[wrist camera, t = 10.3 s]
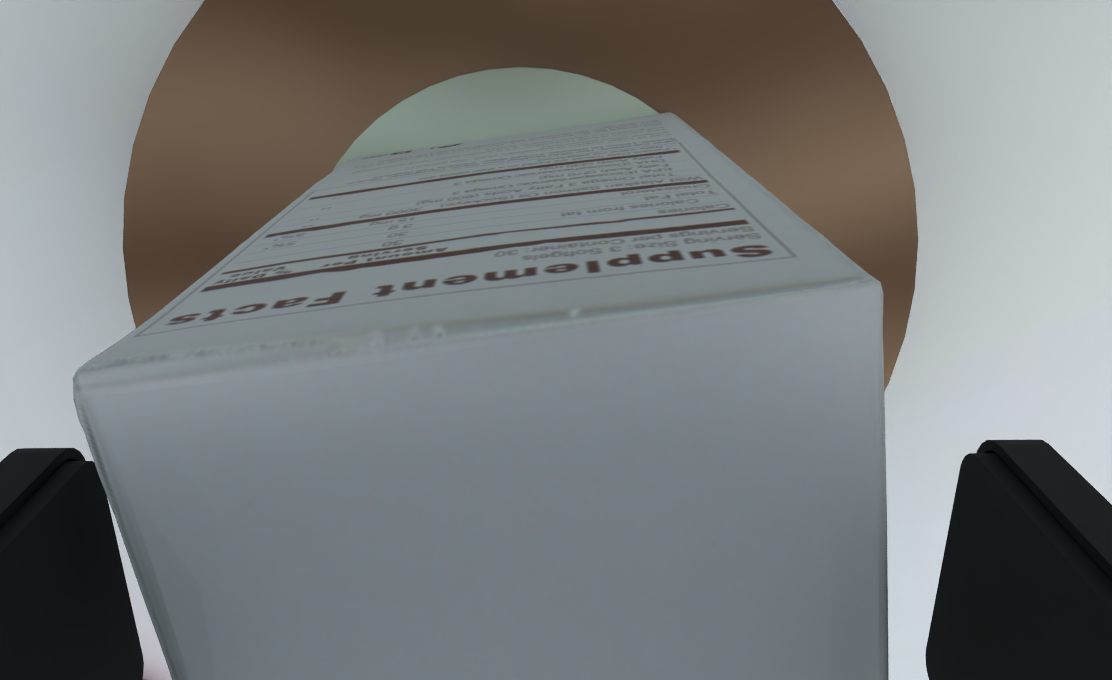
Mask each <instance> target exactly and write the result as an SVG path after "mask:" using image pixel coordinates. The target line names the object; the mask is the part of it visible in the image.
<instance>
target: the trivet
mask: <svg viewBox="0 0 1112 680" xmlns="http://www.w3.org/2000/svg"><path fill="white" fill-rule="evenodd" d="M662 113H673V114H675V115H677V116H678V117H679V118H680V119H681V120H683V121H684V122H685V123H687V124H688V125H689V126H690V127H692V128H693V129H694V130H695V131H696V132H698V133H699V134H700V135H701V136H702V137H703V138H705V139H706V140H708V141H709V142H710V143H711V144H712V145H713V146H714V147H715V148H716V149H717V150H719V151H720V152H722V153H723V154H724V155H726V156H727V157H728V158H729V159H730V160H732V161H733V162H734V163H735V164H737V165H738V166H739V167H740V168H741V169H742V170H744V171H745V172H746V173H747V174H748V175H750V176H751V177H752V178H754V179H755V180H756V181H758V182H759V183H760V184H761V185H762V186H763V187H764V188H766V189H767V190H768V191H769V192H771V193H772V194H773V195H774V196H776V197H777V198H778V199H779V200H780V201H781V202H783V203H784V204H785V205H786V206H787V207H788V208H790V209H791V210H792V211H793V212H794V213H795V214H796V215H798V216H799V217H800V218H801V219H803V220H804V221H805V222H806V223H808V224H809V225H810V226H811V227H813V228H814V229H815V230H816V231H818V232H819V233H820V234H822V235H823V236H824V237H825V238H827V239H828V240H829V241H830V242H831V243H832V244H833V245H834V246H835V247H836V248H838V249H839V250H840V251H841V252H842V253H844V254H845V255H846V256H847V257H849V258H850V259H851V260H852V261H853V262H855V263H856V264H857V265H858V266H859V267H861V268H862V269H863V270H864V271H866V272H867V273H868V274H869V275H871V276H872V277H874V278H875V279H877V280H878V281H880V282H881V286H882V291H883V357H884V391H885V389H886V387H887V385H888V383H889V380H890V377H891V375H892V372H893V369H894V366H895V363H896V360H897V357H898V354H899V352H900V349H901V346H902V343H903V340H904V337H905V333H906V328H907V323H908V318H909V313H910V308H911V304H912V299H913V294H914V289H915V275H916V261H917V247H918V232H917V217H916V201H915V188H914V183H913V178H912V174H911V169H910V164H909V159H908V154H907V149H906V144H905V140H904V136H903V134H902V131H901V128H900V125H899V122H898V120H897V117H896V114H895V111H894V108H893V106H892V103H891V100H890V97H889V94H888V92H887V89H886V87H885V85H884V83H883V81H882V79H881V77H880V75H879V74H878V72H877V70H876V68H875V66H874V64H873V62H872V60H871V58H870V56H869V55H868V53H867V51H866V49H865V47H864V45H863V43H862V41H861V40H860V38H859V37H858V36H857V34H856V33H855V31H854V30H853V29H852V27H851V26H850V25H849V23H848V22H847V20H846V19H845V18H844V16H843V15H842V14H841V12H840V11H839V9H838V8H837V7H836V5H835V4H834V3H833V1H832V0H205V1H204V2H203V4H202V5H201V7H200V8H199V9H198V11H197V12H196V14H195V15H194V17H193V18H192V20H191V21H190V23H189V24H188V25H187V27H186V28H185V30H184V31H183V33H182V34H181V36H180V37H179V38H178V40H177V41H176V43H175V44H174V46H173V48H172V50H171V52H170V54H169V56H168V58H167V60H166V62H165V64H164V66H163V68H162V70H161V72H160V74H159V76H158V78H157V80H156V82H155V84H154V87H153V89H152V91H151V93H150V95H149V98H148V101H147V104H146V107H145V110H144V113H143V116H142V120H141V123H140V126H139V129H138V132H137V135H136V138H135V141H134V144H133V150H132V155H131V161H130V167H129V173H128V179H127V185H126V191H125V197H124V232H123V253H124V262H125V270H126V279H127V288H128V297H129V302H130V306H131V310H132V314H133V318H134V322H135V326H136V328H138V327H139V326H140V325H142V324H143V323H144V322H146V321H147V320H148V319H150V318H151V317H153V316H154V315H155V314H156V313H158V312H159V311H160V310H161V309H163V308H164V307H165V306H166V305H167V304H169V303H170V302H171V301H172V300H174V299H175V298H176V297H177V296H178V295H180V294H181V293H182V292H183V291H185V290H186V289H187V288H188V287H190V286H191V285H192V284H193V283H195V282H196V281H197V280H198V279H200V278H201V277H202V276H203V275H205V274H206V273H207V272H208V271H210V270H211V269H212V268H213V267H214V266H216V265H217V264H218V263H219V262H220V261H222V260H223V259H224V258H225V257H227V256H228V255H229V254H230V253H231V252H233V251H234V250H235V249H236V248H237V247H238V246H239V245H241V244H242V243H243V242H245V241H246V240H247V239H249V238H250V237H251V236H252V235H253V234H254V233H255V232H257V231H258V230H259V229H261V228H262V227H263V226H264V225H265V224H266V223H268V222H269V221H270V220H271V219H273V218H274V217H275V216H276V215H278V214H279V213H280V212H281V211H282V210H284V209H285V208H286V207H287V206H288V205H290V204H291V203H292V202H293V201H295V200H296V199H297V198H299V197H300V196H301V195H302V194H304V193H305V192H306V191H307V190H308V189H310V188H311V187H312V186H313V185H314V184H316V183H317V182H319V181H320V180H322V179H323V178H325V177H326V176H327V175H329V174H330V173H331V172H332V171H334V170H335V169H336V168H338V167H339V166H340V165H341V164H343V163H344V162H345V161H347V160H351V159H356V158H362V157H369V156H376V155H382V154H389V153H395V152H402V151H409V150H416V149H423V148H430V147H437V146H444V145H451V144H458V143H465V142H472V141H479V140H486V139H494V138H501V137H508V136H515V135H522V134H529V133H536V132H543V131H550V130H557V129H564V128H571V127H578V126H585V125H591V124H598V123H605V122H612V121H618V120H625V119H632V118H638V117H646V116H652V115H657V114H662Z"/></svg>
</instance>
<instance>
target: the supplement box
mask: <svg viewBox="0 0 1112 680" xmlns="http://www.w3.org/2000/svg"><path fill="white" fill-rule="evenodd" d="M73 393H74V403H75V407H76V410H77V414H78V418H79V421H80V423H81V426H82V428H83V430H84V433H85V435H86V438H87V441H88V444H89V447H90V450H91V453H92V456H93V459H94V462H95V465H96V468H97V471H98V474H99V477H100V479H101V482H102V485H103V487H104V490H105V492H106V495H107V497H108V500H109V502H110V505H111V507H112V510H113V512H114V515H115V517H116V520H117V523H118V526H119V529H120V532H121V535H122V538H123V541H124V544H125V547H126V550H127V552H128V555H129V558H130V561H131V564H132V567H133V570H134V572H135V575H136V578H137V581H138V584H139V587H140V590H141V592H142V595H143V598H144V601H145V604H146V606H147V609H148V612H149V615H150V617H151V620H152V623H153V626H154V628H155V631H156V634H157V637H158V639H159V642H160V645H161V648H162V651H163V654H164V656H165V659H166V662H167V665H168V668H169V671H170V674H171V677H172V680H888V586H887V502H886V455H885V407H884V357H883V291H882V286H881V282H880V281H878V280H877V279H875V278H874V277H872V276H871V275H869V274H868V273H867V272H866V271H864V270H863V269H862V268H861V267H859V266H858V265H857V264H856V263H855V262H853V261H852V260H851V259H850V258H849V257H847V256H846V255H845V254H844V253H842V252H841V251H840V250H839V249H838V248H836V247H835V246H834V245H833V244H832V243H831V242H830V241H829V240H828V239H827V238H825V237H824V236H823V235H822V234H820V233H819V232H818V231H816V230H815V229H814V228H813V227H811V226H810V225H809V224H808V223H806V222H805V221H804V220H803V219H801V218H800V217H799V216H798V215H796V214H795V213H794V212H793V211H792V210H791V209H790V208H788V207H787V206H786V205H785V204H784V203H783V202H781V201H780V200H779V199H778V198H777V197H776V196H774V195H773V194H772V193H771V192H769V191H768V190H767V189H766V188H764V187H763V186H762V185H761V184H760V183H759V182H758V181H756V180H755V179H754V178H752V177H751V176H750V175H748V174H747V173H746V172H745V171H744V170H742V169H741V168H740V167H739V166H738V165H737V164H735V163H734V162H733V161H732V160H730V159H729V158H728V157H727V156H726V155H724V154H723V153H722V152H720V151H719V150H717V149H716V148H715V147H714V146H713V145H712V144H711V143H710V142H709V141H708V140H706V139H705V138H703V137H702V136H701V135H700V134H699V133H698V132H696V131H695V130H694V129H693V128H692V127H690V126H689V125H688V124H687V123H685V122H684V121H683V120H681V119H680V118H679V117H678V116H677V115H675V114H673V113H662V114H657V115H652V116H646V117H638V118H632V119H625V120H618V121H612V122H605V123H598V124H591V125H585V126H578V127H571V128H564V129H557V130H550V131H543V132H536V133H529V134H522V135H515V136H508V137H501V138H494V139H486V140H479V141H472V142H465V143H458V144H451V145H444V146H437V147H430V148H423V149H416V150H409V151H402V152H395V153H389V154H382V155H376V156H369V157H362V158H356V159H351V160H347V161H345V162H344V163H343V164H341V165H340V166H339V167H338V168H336V169H335V170H334V171H332V172H331V173H330V174H329V175H327V176H326V177H325V178H323V179H322V180H320V181H319V182H317V183H316V184H314V185H313V186H312V187H311V188H310V189H308V190H307V191H306V192H305V193H304V194H302V195H301V196H300V197H299V198H297V199H296V200H295V201H293V202H292V203H291V204H290V205H288V206H287V207H286V208H285V209H284V210H282V211H281V212H280V213H279V214H278V215H276V216H275V217H274V218H273V219H271V220H270V221H269V222H268V223H266V224H265V225H264V226H263V227H262V228H261V229H259V230H258V231H257V232H255V233H254V234H253V235H252V236H251V237H250V238H249V239H247V240H246V241H245V242H243V243H242V244H241V245H239V246H238V247H237V248H236V249H235V250H234V251H233V252H231V253H230V254H229V255H228V256H227V257H225V258H224V259H223V260H222V261H220V262H219V263H218V264H217V265H216V266H214V267H213V268H212V269H211V270H210V271H208V272H207V273H206V274H205V275H203V276H202V277H201V278H200V279H198V280H197V281H196V282H195V283H193V284H192V285H191V286H190V287H188V288H187V289H186V290H185V291H183V292H182V293H181V294H180V295H178V296H177V297H176V298H175V299H174V300H172V301H171V302H170V303H169V304H167V305H166V306H165V307H164V308H163V309H161V310H160V311H159V312H158V313H156V314H155V315H154V316H153V317H151V318H150V319H148V320H147V321H146V322H144V323H143V324H142V325H140V326H139V327H138V328H136V329H135V330H134V331H132V332H131V333H130V334H128V335H127V336H125V337H124V338H123V339H121V340H120V341H118V342H117V343H115V344H114V345H112V346H111V347H109V348H108V349H106V350H105V351H103V352H102V353H100V354H99V355H97V356H96V357H94V358H92V359H91V360H90V361H88V362H87V363H85V364H84V365H83V366H81V367H80V368H79V369H78V370H77V372H76V373H75V375H74V377H73Z"/></svg>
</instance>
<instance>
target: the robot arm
mask: <svg viewBox="0 0 1112 680" xmlns="http://www.w3.org/2000/svg"><path fill="white" fill-rule="evenodd" d="M143 667H144V662H143V655H142V650H141V646H140V642H139V637H138V633H137V628H136V624H135V619H134V615H133V610H132V606H131V602H130V597H129V593H128V588H127V584H126V579H125V575H124V571H123V566H122V562H121V557H120V553H119V548H118V544H117V540H116V535H115V531H114V526H113V522H112V517H111V513H110V508H109V504H108V500H107V495H106V492H105V490H104V487H103V485H102V482H101V479H100V477H99V474H98V471H97V468H96V465H95V463H94V462H93V461H85V458H84V457H83V455H82V454H81V452H80V451H78V450H76V449H75V448H24V449H16V450H15V451H13V452H11V453H10V454H9V455H8V456H7V457H6V458H4V459H3V460H2V461H1V462H0V680H142V677H143ZM926 667H927V673H928V677H929V680H1112V505H1111V504H1110V503H1109V502H1108V501H1107V500H1106V499H1105V498H1104V497H1103V496H1102V495H1101V494H1100V493H1099V492H1098V491H1097V490H1096V489H1095V488H1094V487H1093V486H1092V485H1091V484H1090V483H1089V482H1088V481H1086V480H1085V479H1084V478H1083V477H1082V476H1081V475H1080V474H1079V473H1078V472H1077V471H1076V470H1075V469H1074V468H1073V467H1072V466H1071V465H1070V464H1069V463H1068V462H1067V461H1066V460H1065V459H1064V458H1063V457H1062V456H1061V455H1060V454H1058V453H1057V452H1056V451H1055V450H1054V449H1053V448H1052V447H1051V446H1050V445H1049V444H1048V443H1046V442H1045V441H1043V440H986V441H985V442H983V443H982V444H981V446H980V447H979V449H978V450H977V453H971V454H968V455H966V456H965V457H964V459H963V461H962V464H961V467H960V472H959V477H958V483H957V488H956V493H955V499H954V504H953V509H952V514H951V520H950V525H949V530H948V536H947V541H946V546H945V552H944V557H943V562H942V568H941V573H940V578H939V584H938V589H937V594H936V599H935V605H934V610H933V615H932V621H931V626H930V631H929V637H928V642H927V647H926Z"/></svg>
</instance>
